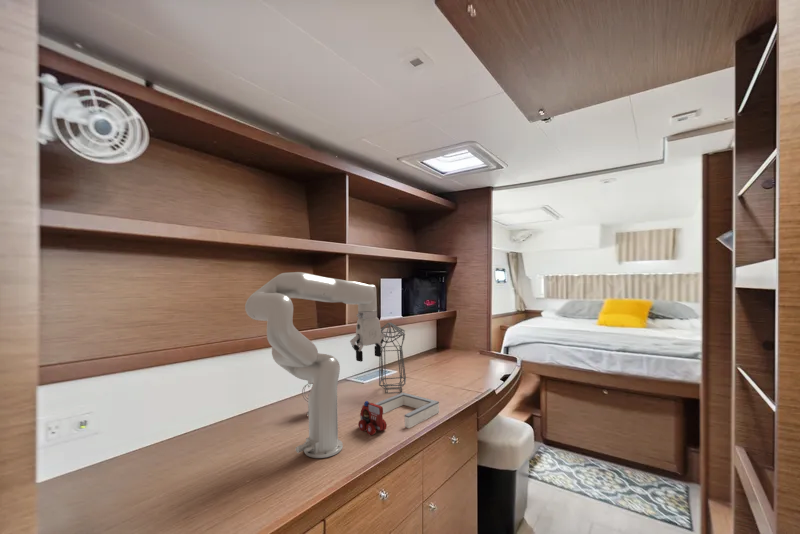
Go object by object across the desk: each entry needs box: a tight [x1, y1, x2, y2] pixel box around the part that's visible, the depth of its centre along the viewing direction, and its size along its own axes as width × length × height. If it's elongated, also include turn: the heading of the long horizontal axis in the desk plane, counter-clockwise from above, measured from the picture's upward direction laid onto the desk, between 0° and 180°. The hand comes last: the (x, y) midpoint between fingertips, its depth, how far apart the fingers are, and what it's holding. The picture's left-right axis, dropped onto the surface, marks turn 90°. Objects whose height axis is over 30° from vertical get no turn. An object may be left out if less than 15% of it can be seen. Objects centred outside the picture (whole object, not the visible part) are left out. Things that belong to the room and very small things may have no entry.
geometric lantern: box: [378, 322, 407, 394], centre depth 178 cm, size 16×16×35 cm
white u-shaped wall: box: [374, 392, 440, 429], centre depth 146 cm, size 20×20×5 cm
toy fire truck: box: [357, 400, 388, 436], centre depth 131 cm, size 7×12×10 cm, turn 42°
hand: (368, 358), depth 138 cm, fingers open, 9 cm apart
